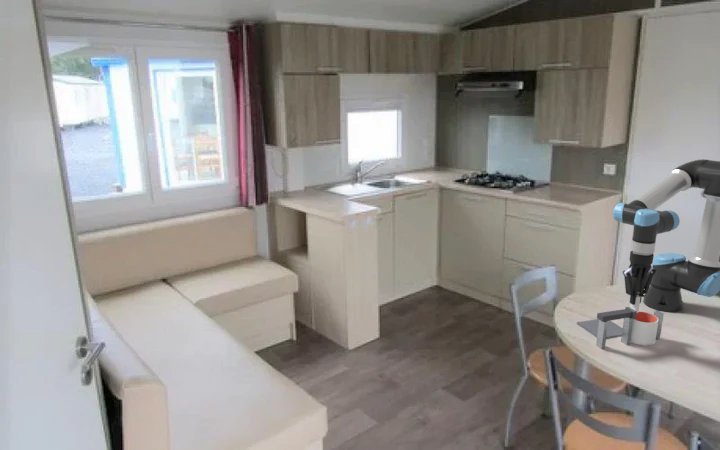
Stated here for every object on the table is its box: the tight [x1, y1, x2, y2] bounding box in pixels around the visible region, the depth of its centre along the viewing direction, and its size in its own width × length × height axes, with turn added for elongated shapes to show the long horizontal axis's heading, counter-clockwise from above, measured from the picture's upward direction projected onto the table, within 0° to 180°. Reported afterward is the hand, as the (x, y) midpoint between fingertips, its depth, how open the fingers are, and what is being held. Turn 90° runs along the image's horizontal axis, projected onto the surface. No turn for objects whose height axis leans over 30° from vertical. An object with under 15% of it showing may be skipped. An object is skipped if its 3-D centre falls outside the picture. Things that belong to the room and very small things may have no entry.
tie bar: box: [596, 306, 637, 322], centre depth 195 cm, size 14×4×3 cm, turn 104°
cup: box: [630, 311, 659, 347], centre depth 200 cm, size 10×10×10 cm
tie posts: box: [595, 309, 664, 350], centre depth 198 cm, size 26×3×11 cm, turn 104°
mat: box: [576, 318, 623, 339], centre depth 211 cm, size 14×14×1 cm
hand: (633, 311), depth 196 cm, fingers closed
